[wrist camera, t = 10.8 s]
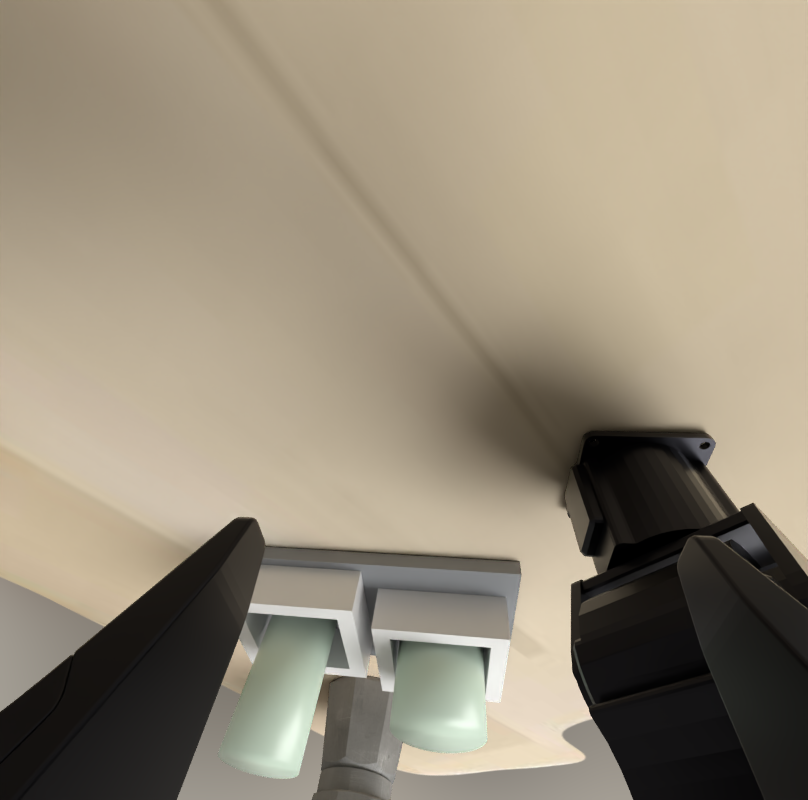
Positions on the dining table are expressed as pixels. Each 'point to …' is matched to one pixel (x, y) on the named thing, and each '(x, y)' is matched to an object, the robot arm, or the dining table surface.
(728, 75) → the dining table surface
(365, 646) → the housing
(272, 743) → the pale green rounded block
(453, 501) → the dining table surface
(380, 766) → the coffeepot
